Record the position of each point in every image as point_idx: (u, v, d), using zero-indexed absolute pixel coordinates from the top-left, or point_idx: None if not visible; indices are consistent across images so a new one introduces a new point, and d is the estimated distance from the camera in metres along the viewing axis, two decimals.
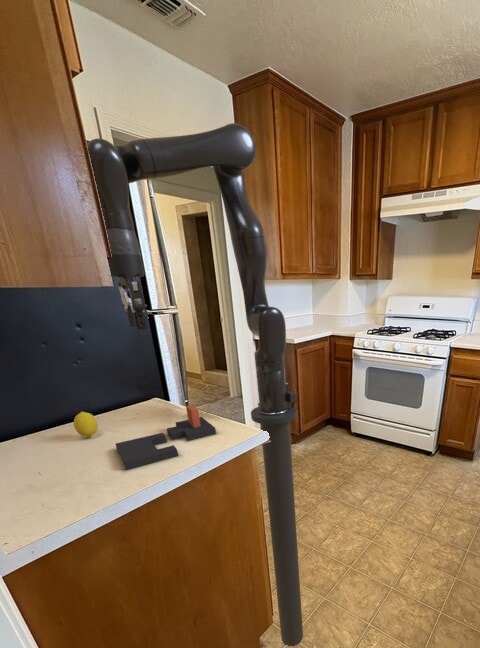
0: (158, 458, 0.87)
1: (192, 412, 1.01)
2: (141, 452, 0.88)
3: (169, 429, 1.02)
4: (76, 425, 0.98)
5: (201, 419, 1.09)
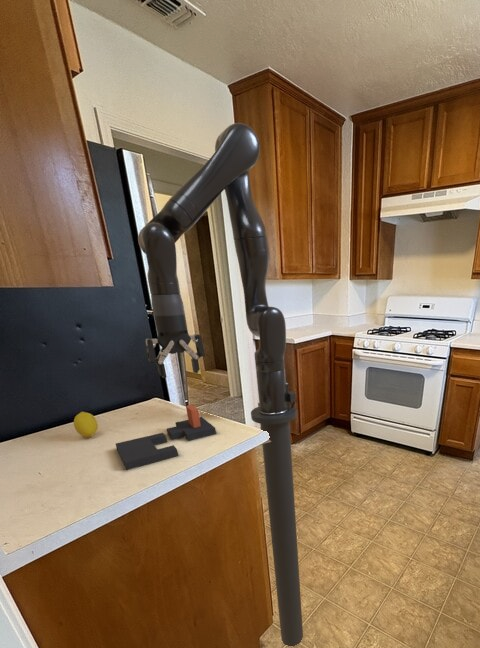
0: (158, 458, 0.87)
1: (192, 412, 1.01)
2: (141, 452, 0.88)
3: (169, 429, 1.02)
4: (76, 425, 0.98)
5: (201, 419, 1.09)
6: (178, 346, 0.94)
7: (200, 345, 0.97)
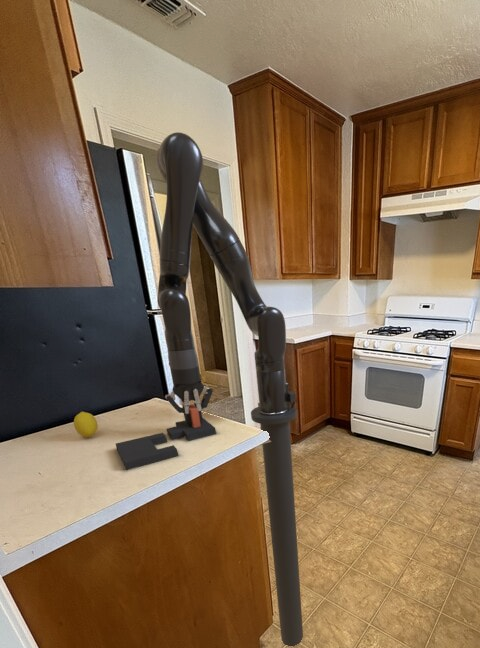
0: (158, 458, 0.87)
1: (192, 412, 1.01)
2: (141, 452, 0.88)
3: (169, 429, 1.02)
4: (76, 425, 0.98)
5: None
6: (192, 395, 1.00)
7: (207, 398, 1.03)
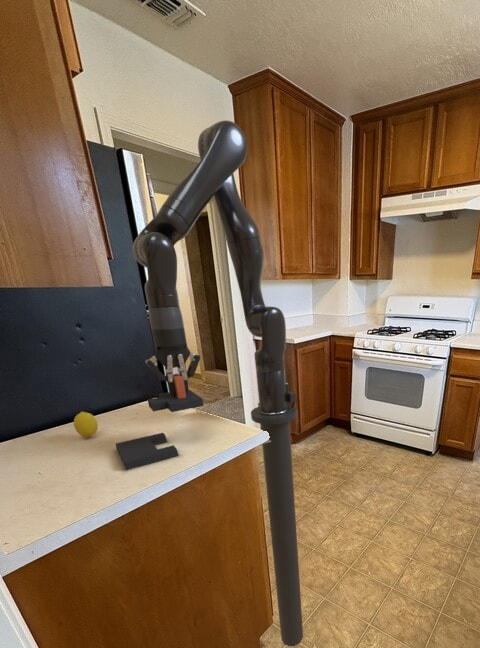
0: (158, 458, 0.87)
1: (176, 380, 0.89)
2: (141, 452, 0.88)
3: (150, 400, 0.90)
4: (76, 425, 0.98)
5: (188, 391, 0.97)
6: (176, 361, 0.89)
7: (194, 365, 0.92)
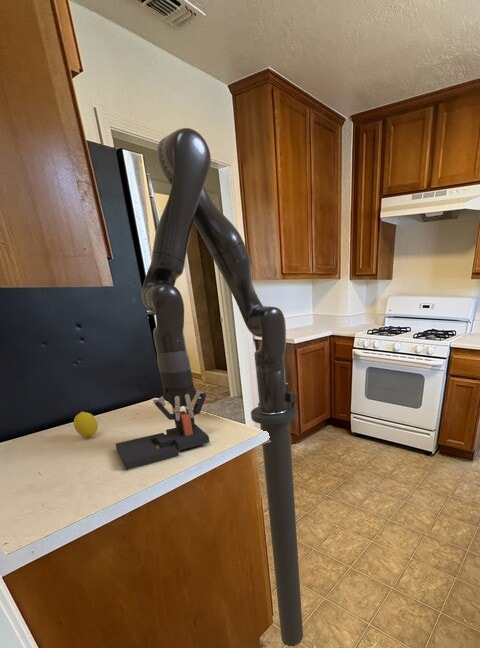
0: (158, 458, 0.87)
1: (183, 419, 0.93)
2: (141, 452, 0.88)
3: (158, 437, 0.94)
4: (76, 425, 0.98)
5: None
6: (183, 400, 0.92)
7: (200, 403, 0.95)
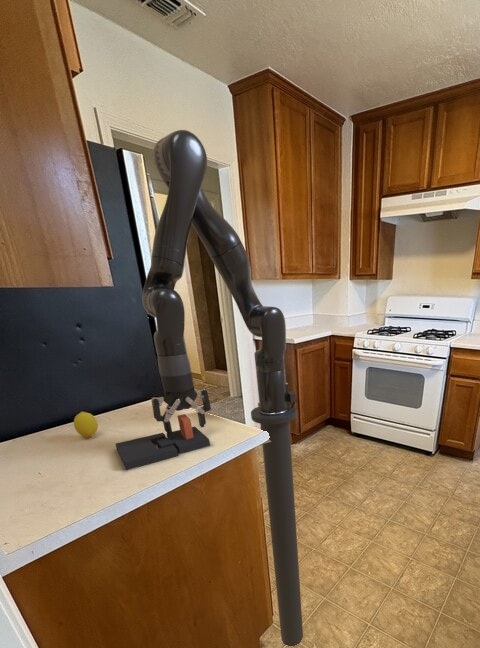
0: (158, 458, 0.87)
1: (184, 422, 0.93)
2: (141, 452, 0.88)
3: (159, 441, 0.94)
4: (76, 425, 0.98)
5: (194, 429, 1.01)
6: (184, 403, 0.93)
7: (206, 400, 0.96)
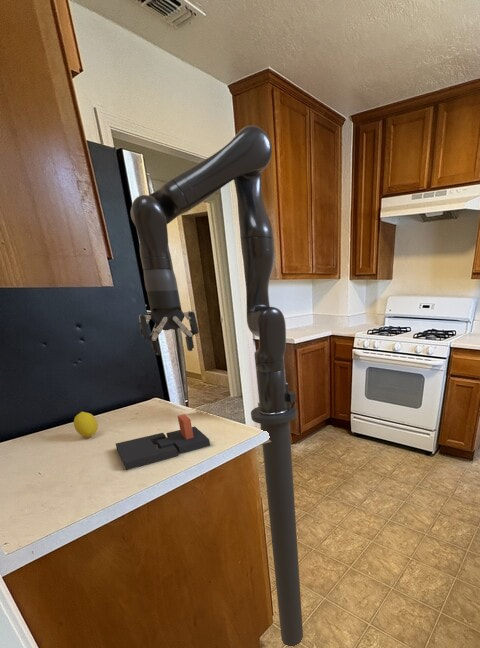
0: (158, 458, 0.87)
1: (184, 422, 0.93)
2: (141, 452, 0.88)
3: (159, 441, 0.94)
4: (76, 425, 0.98)
5: (194, 429, 1.01)
6: (171, 323, 0.94)
7: (194, 322, 0.97)
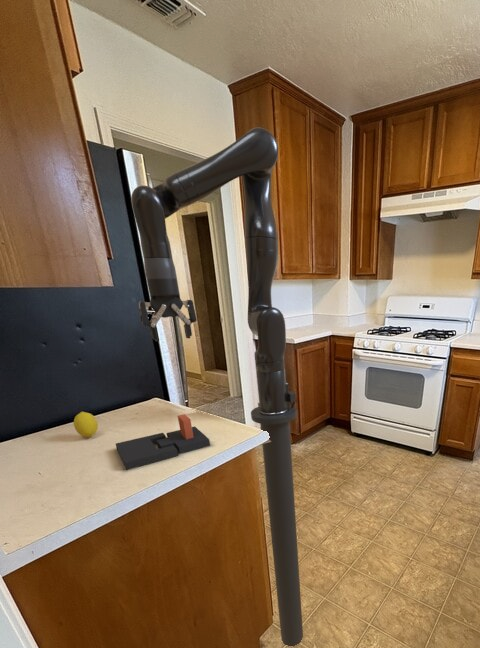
0: (158, 458, 0.87)
1: (184, 422, 0.93)
2: (141, 452, 0.88)
3: (159, 441, 0.94)
4: (76, 425, 0.98)
5: (194, 429, 1.01)
6: (170, 310, 0.97)
7: (192, 310, 1.00)
